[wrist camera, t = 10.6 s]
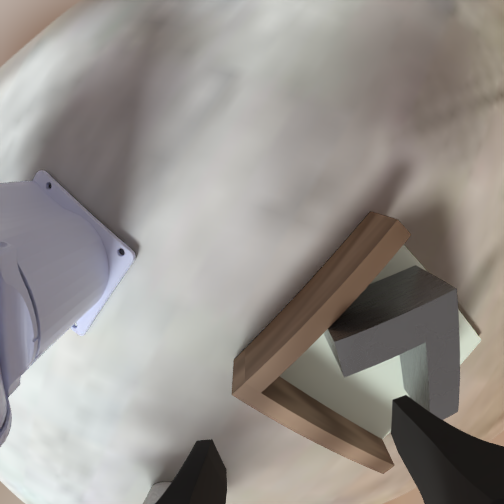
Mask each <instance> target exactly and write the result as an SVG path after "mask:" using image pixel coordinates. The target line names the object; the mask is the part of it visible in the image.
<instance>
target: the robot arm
mask: <svg viewBox="0 0 504 504" xmlns="http://www.w3.org/2000/svg"><path fill="white" fill-rule="evenodd" d="M49 183H51V189H50V188H49ZM120 248H122V249H123V250H124V252H125V254H124V255H122V254H120V252H119V250H120ZM135 259H136V255H135V252H134V251H133V250H132V249H131V248H130V247H128V246H127V245H126V244H125V243H124V242H123V241H121V240H120V239H119V238H118V237H117V236H116V235H115V234H113V233H112V232H111V231H110V230H109V229H108V228H107V227H105V226H104V225H103V224H102V223H101V222H100V221H99V220H98V219H96V218H95V217H94V216H93V215H92V214H91V213H90V212H89V211H88V210H87V209H85V208H84V207H83V206H82V205H81V204H80V203H79V202H78V201H77V200H76V199H75V198H74V197H72V196H71V195H70V194H69V193H68V192H67V191H66V190H65V189H64V188H63V187H62V186H61V185H60V184H59V183H58V182H57V181H56V180H55V179H54V178H52V177H51V176H50V175H49V174H48V173H47V172H46V171H45V170H39V171H38V172H37V173H36V175H35V176H34V178H33V180H32V181H21V182H8V183H0V447H1V445H2V444H3V443H4V442H5V440H6V438H7V436H8V434H9V431H10V428H11V420H12V414H11V408H10V404H9V400H8V397H9V396H10V395H11V394H12V393H13V392H14V391H15V390H16V388H17V387H18V386H19V385H20V377H21V375H22V374H23V373H24V372H25V371H26V370H27V369H28V368H29V367H30V366H31V365H32V364H33V363H34V362H35V361H36V360H37V359H38V358H39V357H40V356H41V355H42V354H43V353H44V352H45V351H46V350H47V349H48V348H49V347H50V346H52V345H53V344H54V343H55V342H56V341H57V340H58V339H59V338H60V337H61V336H62V335H63V334H64V333H65V332H66V331H67V330H68V329H69V328H71V329H72V330H73V331H74V332H76V333H77V334H78V335H81V336H82V335H84V334H85V333H86V332H87V331H88V329H89V328H90V326H91V324H92V323H93V321H94V320H95V318H96V317H97V315H98V314H99V312H100V311H101V309H102V308H103V306H104V305H105V303H106V302H107V300H108V299H109V297H110V296H111V294H112V293H113V291H114V290H115V288H116V287H117V285H118V284H119V282H120V281H121V280H122V278H123V277H124V275H125V274H126V272H127V271H128V270H129V268H130V267H131V265H132V264H133V263H134V261H135ZM75 323H76V324H77V326H75ZM391 435H392V437H393V440H394V443H395V445H396V448H397V450H398V453H399V454H400V456H401V458H402V460H403V462H404V464H405V465H406V467H407V469H408V471H409V473H410V475H411V476H412V478H413V480H414V482H415V484H416V485H417V487H418V489H419V491H420V493H421V495H422V498H423V500H424V503H425V504H504V447H503V446H499V445H496V444H493V443H489V442H486V441H483V440H481V439H478V438H476V437H473V436H471V435H469V434H467V433H465V432H463V431H461V430H459V429H457V428H455V427H453V426H451V425H450V424H448V423H446V422H445V421H443V420H442V419H440V418H438V417H437V416H435V415H434V414H432V413H431V412H429V411H428V410H427V409H425V408H424V407H422V406H421V405H420V404H418V403H417V402H416V401H414V400H413V399H411V398H410V397H409V396H407V395H404V396H402V397H399V398H396V399H393V400H392V422H391ZM226 494H227V478H226V468H225V466H224V464H223V462H222V460H221V457H220V455H219V453H218V451H217V449H216V447H215V445H214V443H213V440H212V439H211V440H201V441H197V442H196V443H195V445H194V447H193V449H192V450H191V452H190V454H189V456H188V457H187V459H186V461H185V462H184V464H183V466H182V467H181V469H180V470H179V472H178V474H177V475H176V477H175V478H174V480H173V481H172V483H171V484H170V485H169V487H168V488H167V489H166V491H165V492H164V493H163V495H162V496H161V497H160V498H159V499H158V501H157V502H156V503H155V504H225V503H226Z"/></svg>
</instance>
